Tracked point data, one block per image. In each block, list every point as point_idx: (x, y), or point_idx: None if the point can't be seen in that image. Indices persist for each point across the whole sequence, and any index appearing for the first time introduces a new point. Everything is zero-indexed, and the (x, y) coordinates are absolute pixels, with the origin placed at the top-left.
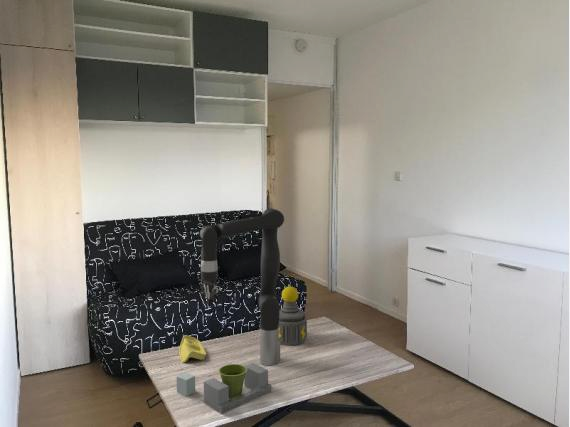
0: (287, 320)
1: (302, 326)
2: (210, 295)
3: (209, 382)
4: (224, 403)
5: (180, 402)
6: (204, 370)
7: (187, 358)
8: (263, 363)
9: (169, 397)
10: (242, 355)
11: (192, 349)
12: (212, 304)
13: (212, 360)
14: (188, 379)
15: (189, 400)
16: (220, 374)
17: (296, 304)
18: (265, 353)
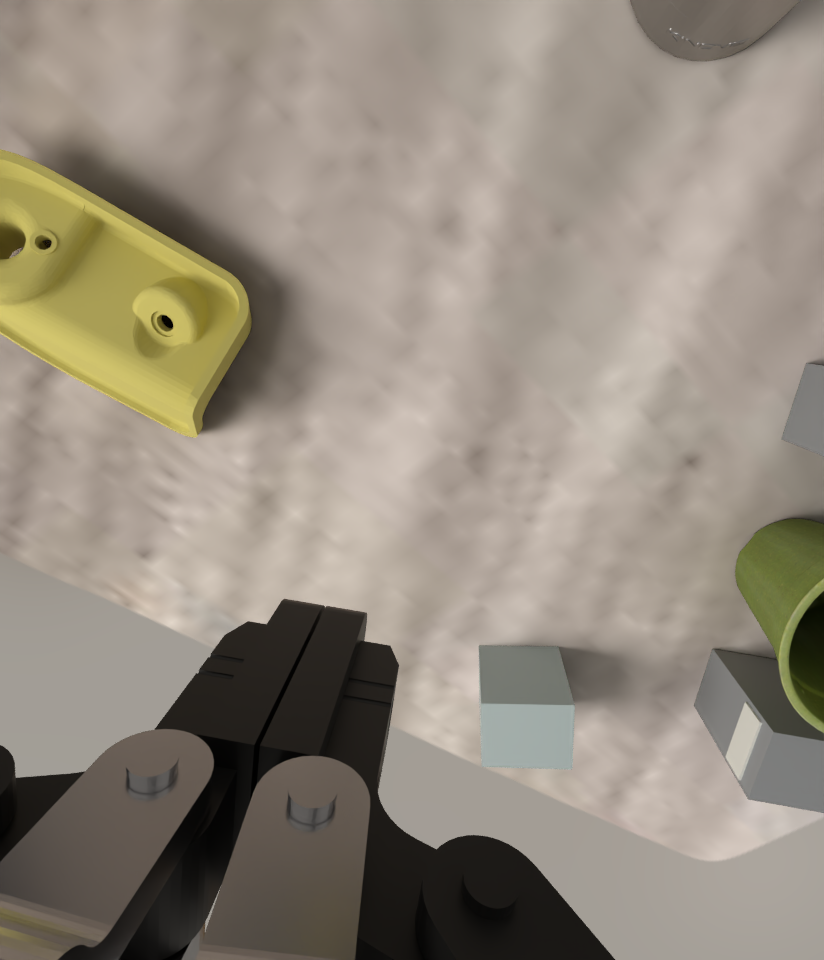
0: None
1: None
2: (166, 858)
3: (791, 788)
4: None
5: (580, 758)
6: (392, 429)
7: (200, 424)
8: (708, 57)
9: None
10: (423, 28)
11: (93, 295)
12: (394, 677)
13: (308, 275)
14: (571, 750)
15: (605, 724)
16: (816, 710)
17: None
18: (778, 5)
